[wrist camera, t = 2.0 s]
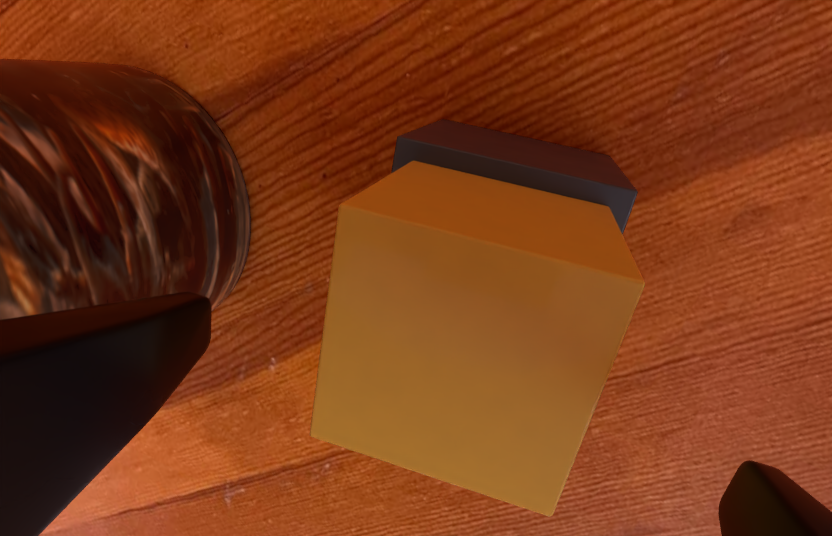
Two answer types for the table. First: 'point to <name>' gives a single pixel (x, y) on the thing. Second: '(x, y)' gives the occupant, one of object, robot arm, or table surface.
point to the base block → (520, 163)
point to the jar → (112, 190)
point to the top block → (471, 329)
